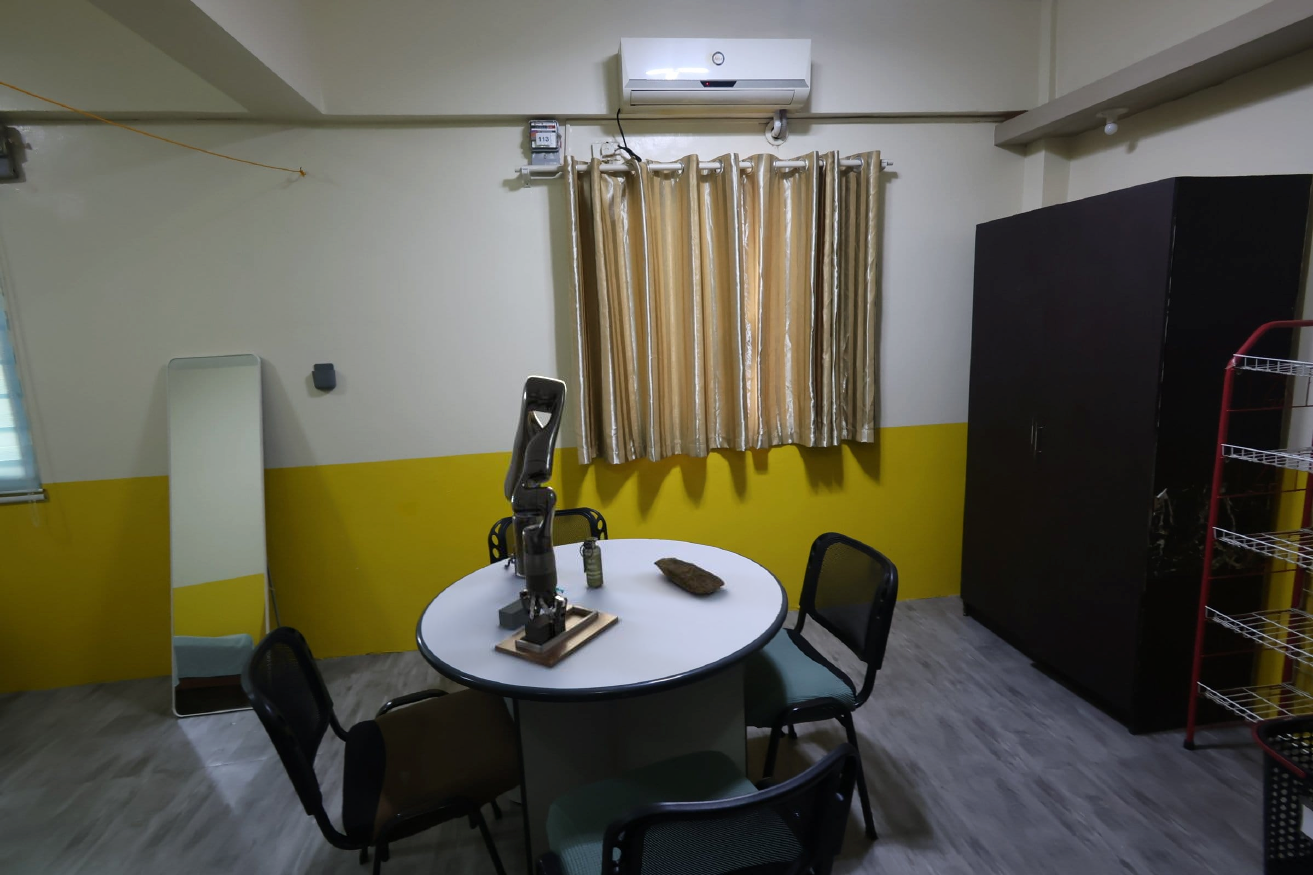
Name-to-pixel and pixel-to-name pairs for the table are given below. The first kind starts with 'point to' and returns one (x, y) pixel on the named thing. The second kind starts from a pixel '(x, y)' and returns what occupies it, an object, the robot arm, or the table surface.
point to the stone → (689, 575)
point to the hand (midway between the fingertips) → (546, 633)
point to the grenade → (592, 562)
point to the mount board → (560, 637)
